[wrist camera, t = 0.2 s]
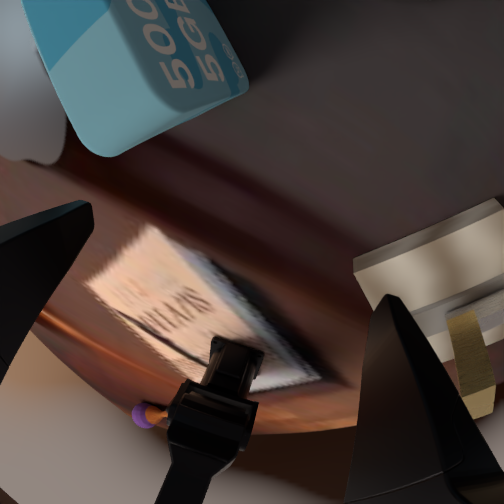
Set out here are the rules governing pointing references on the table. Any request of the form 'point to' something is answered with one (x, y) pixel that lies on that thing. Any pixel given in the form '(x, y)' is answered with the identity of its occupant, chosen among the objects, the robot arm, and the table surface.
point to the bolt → (475, 350)
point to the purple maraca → (147, 415)
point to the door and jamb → (440, 271)
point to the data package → (133, 65)
